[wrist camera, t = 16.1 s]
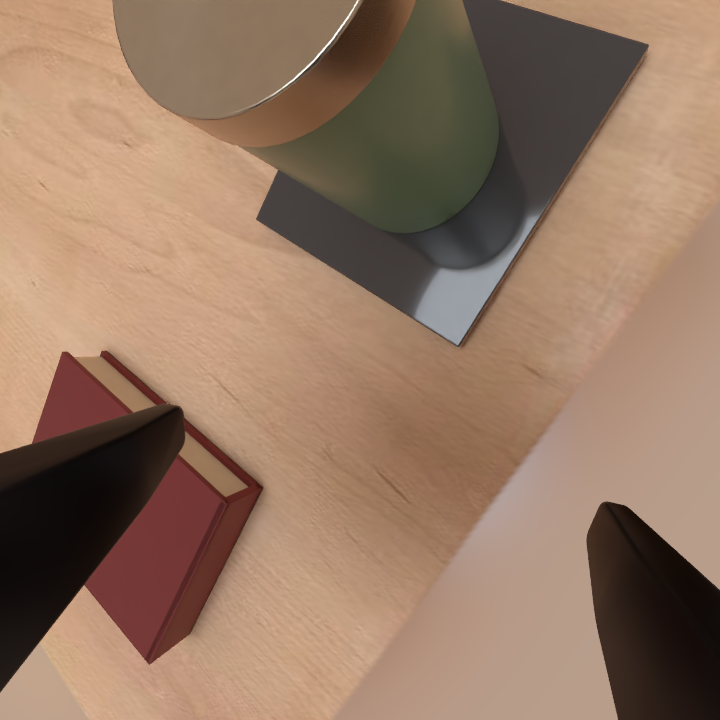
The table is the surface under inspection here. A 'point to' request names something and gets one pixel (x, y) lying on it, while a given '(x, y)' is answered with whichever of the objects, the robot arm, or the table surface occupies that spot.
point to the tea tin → (330, 94)
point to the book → (155, 511)
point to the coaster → (503, 184)
